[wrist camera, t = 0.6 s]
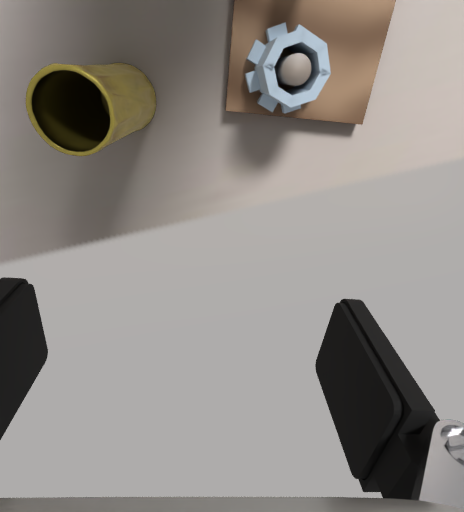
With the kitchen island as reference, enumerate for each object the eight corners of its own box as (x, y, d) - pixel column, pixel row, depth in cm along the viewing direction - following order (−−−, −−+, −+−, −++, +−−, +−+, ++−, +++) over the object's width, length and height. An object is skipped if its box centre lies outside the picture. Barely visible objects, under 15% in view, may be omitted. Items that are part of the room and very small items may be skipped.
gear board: (243, -113, 26) (253, -178, 19) (410, -85, 27) (475, -136, 20) (225, 109, 33) (228, 117, 27) (356, 122, 34) (390, 133, 28)
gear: (236, 40, 29) (241, 33, 24) (312, 13, 28) (335, -1, 23) (256, 121, 32) (264, 129, 27) (325, 98, 32) (347, 102, 27)
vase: (167, 89, 32) (139, 98, 20) (139, 143, 34) (97, 181, 22) (109, 48, 30) (36, 28, 18) (83, 108, 32) (3, 127, 20)
